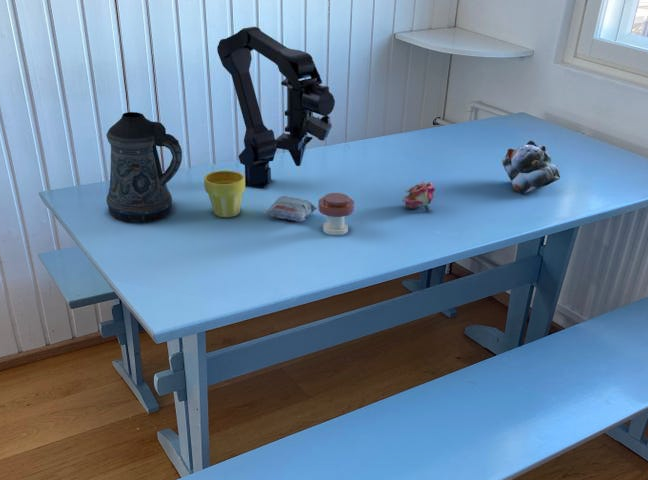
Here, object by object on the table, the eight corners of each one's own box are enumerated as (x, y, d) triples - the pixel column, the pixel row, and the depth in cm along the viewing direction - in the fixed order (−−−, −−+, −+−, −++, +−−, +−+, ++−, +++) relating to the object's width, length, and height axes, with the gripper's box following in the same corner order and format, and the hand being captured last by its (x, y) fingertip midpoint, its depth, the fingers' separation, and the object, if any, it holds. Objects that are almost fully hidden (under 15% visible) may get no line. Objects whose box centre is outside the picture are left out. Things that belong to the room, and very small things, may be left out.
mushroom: (313, 234, 185) (313, 201, 180) (323, 220, 193) (324, 188, 187) (347, 240, 184) (348, 207, 179) (357, 225, 191) (358, 193, 186)
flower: (445, 201, 202) (433, 174, 200) (438, 207, 194) (425, 179, 192) (414, 216, 206) (402, 190, 205) (406, 222, 198) (393, 195, 197)
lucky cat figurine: (516, 196, 211) (504, 148, 208) (506, 197, 223) (495, 151, 220) (566, 181, 211) (555, 132, 208) (553, 182, 223) (543, 136, 220)
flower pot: (208, 204, 198) (205, 169, 192) (247, 204, 199) (245, 169, 193) (205, 220, 189) (202, 184, 184) (245, 220, 190) (244, 184, 185)
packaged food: (304, 228, 188) (304, 210, 185) (262, 219, 191) (262, 201, 188) (317, 215, 195) (317, 198, 192) (276, 208, 198) (276, 190, 195)
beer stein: (104, 202, 196) (88, 107, 181) (176, 193, 203) (167, 101, 188) (113, 227, 184) (97, 127, 169) (190, 217, 190) (182, 120, 176)
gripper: (316, 120, 178) (315, 182, 187) (339, 100, 193) (337, 158, 202) (273, 115, 181) (274, 176, 190) (299, 95, 195) (299, 153, 204)
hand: (298, 165), depth 196 cm, fingers closed
